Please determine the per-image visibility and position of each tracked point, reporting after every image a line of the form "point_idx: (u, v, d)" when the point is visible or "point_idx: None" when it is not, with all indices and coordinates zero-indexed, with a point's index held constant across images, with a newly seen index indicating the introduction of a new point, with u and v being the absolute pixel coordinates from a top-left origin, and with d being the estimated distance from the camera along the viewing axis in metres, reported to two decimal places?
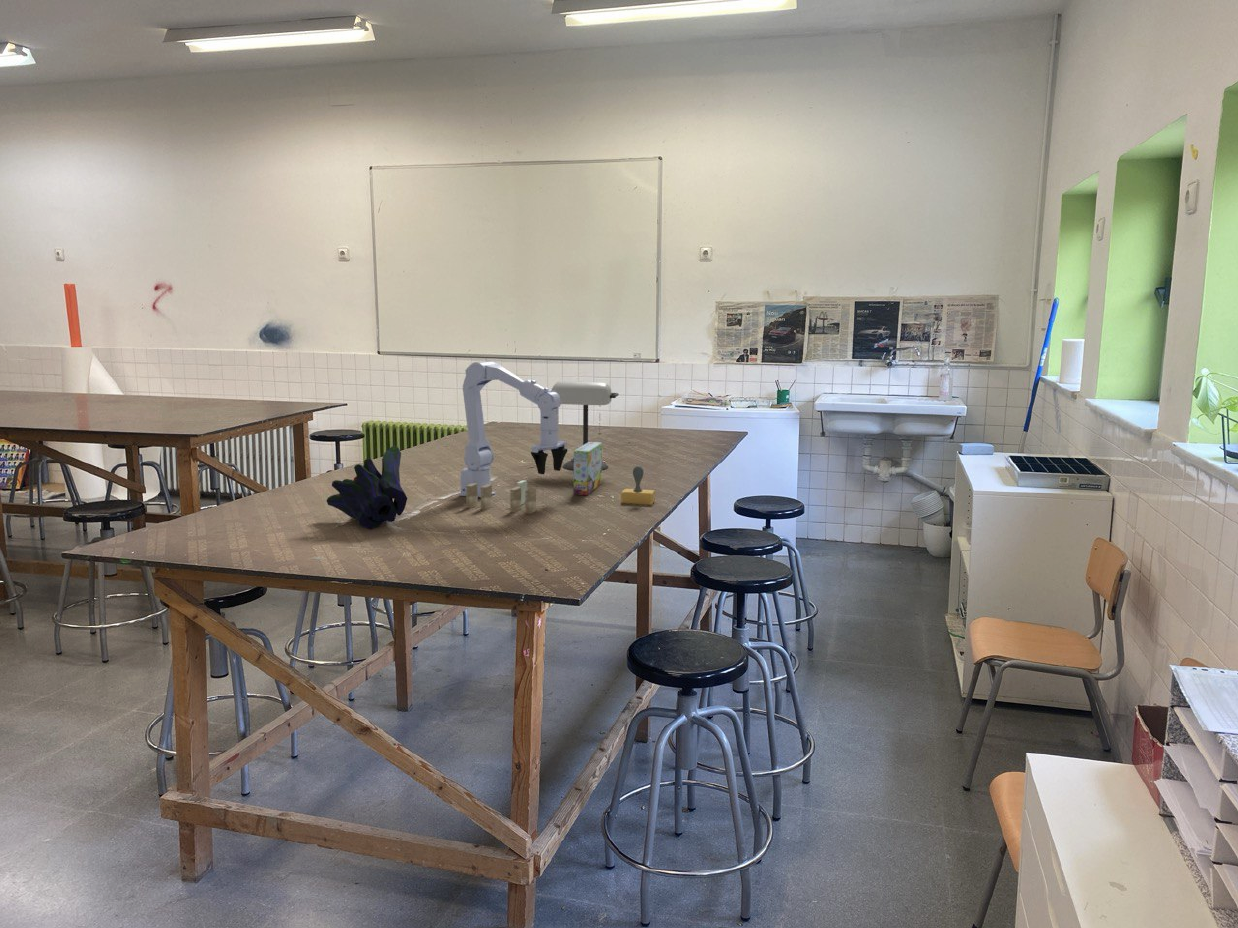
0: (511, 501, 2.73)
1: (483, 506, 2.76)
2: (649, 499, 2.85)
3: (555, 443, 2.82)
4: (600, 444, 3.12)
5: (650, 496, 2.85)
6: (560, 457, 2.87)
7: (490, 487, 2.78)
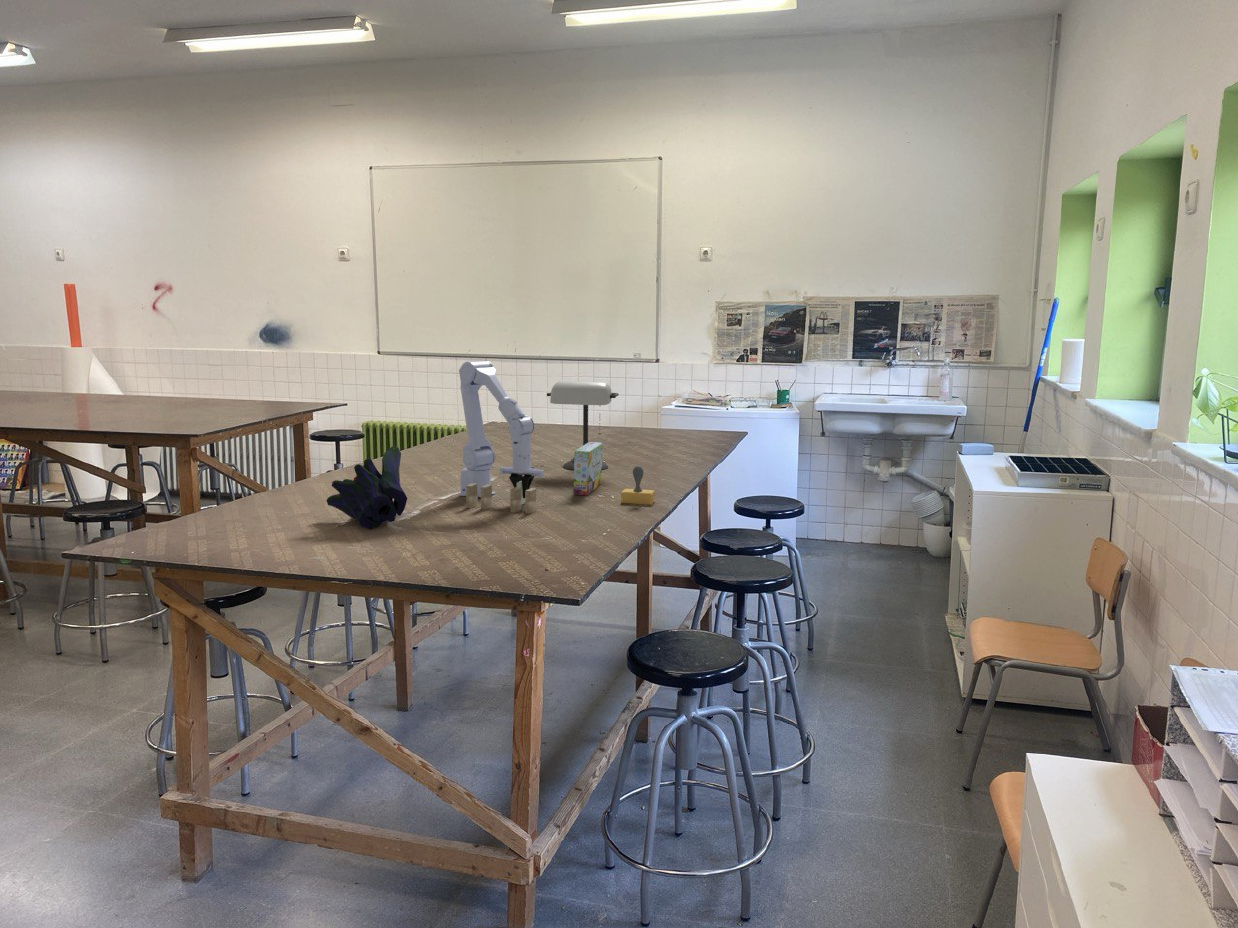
0: (511, 501, 2.73)
1: (483, 506, 2.76)
2: (649, 499, 2.85)
3: (517, 469, 2.81)
4: (601, 444, 3.12)
5: (650, 496, 2.85)
6: None
7: (490, 487, 2.78)
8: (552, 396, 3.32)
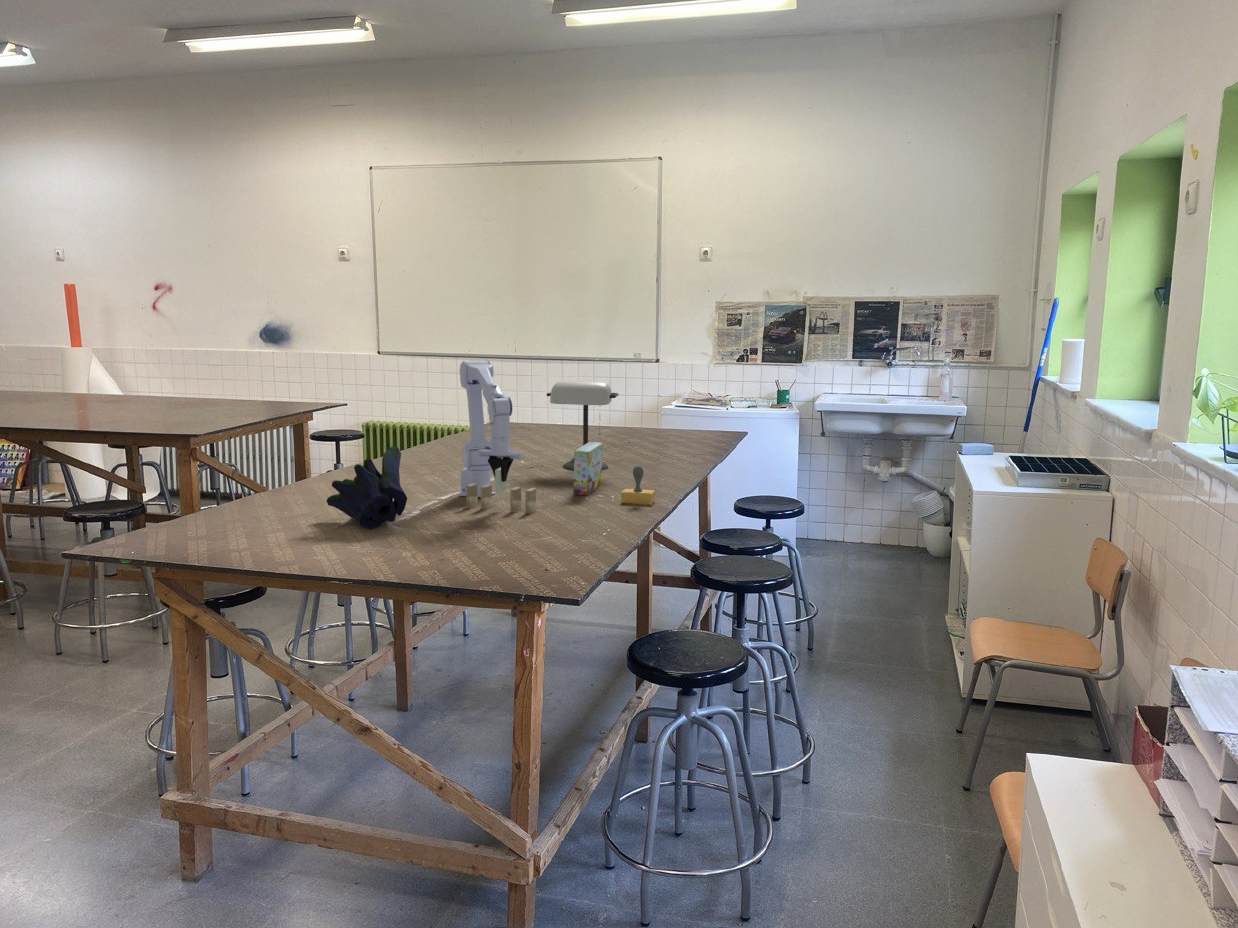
0: (511, 501, 2.73)
1: (483, 506, 2.76)
2: (649, 499, 2.85)
3: (495, 451, 2.71)
4: (601, 444, 3.12)
5: (650, 496, 2.85)
6: None
7: (490, 487, 2.78)
8: (552, 396, 3.32)
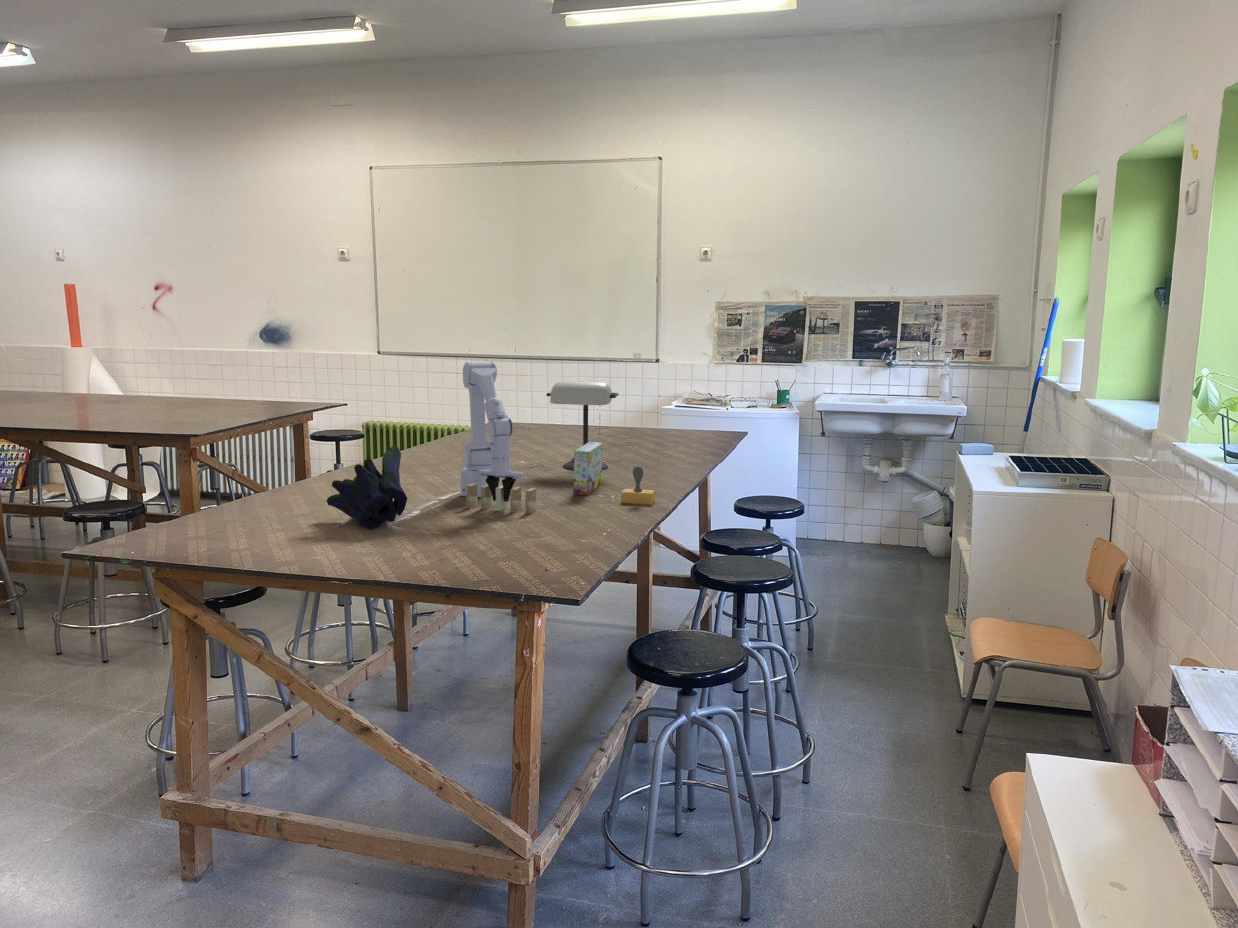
0: (511, 501, 2.73)
1: (483, 506, 2.76)
2: (649, 499, 2.85)
3: (495, 471, 2.72)
4: (601, 444, 3.12)
5: (650, 496, 2.85)
6: None
7: None
8: (552, 396, 3.32)
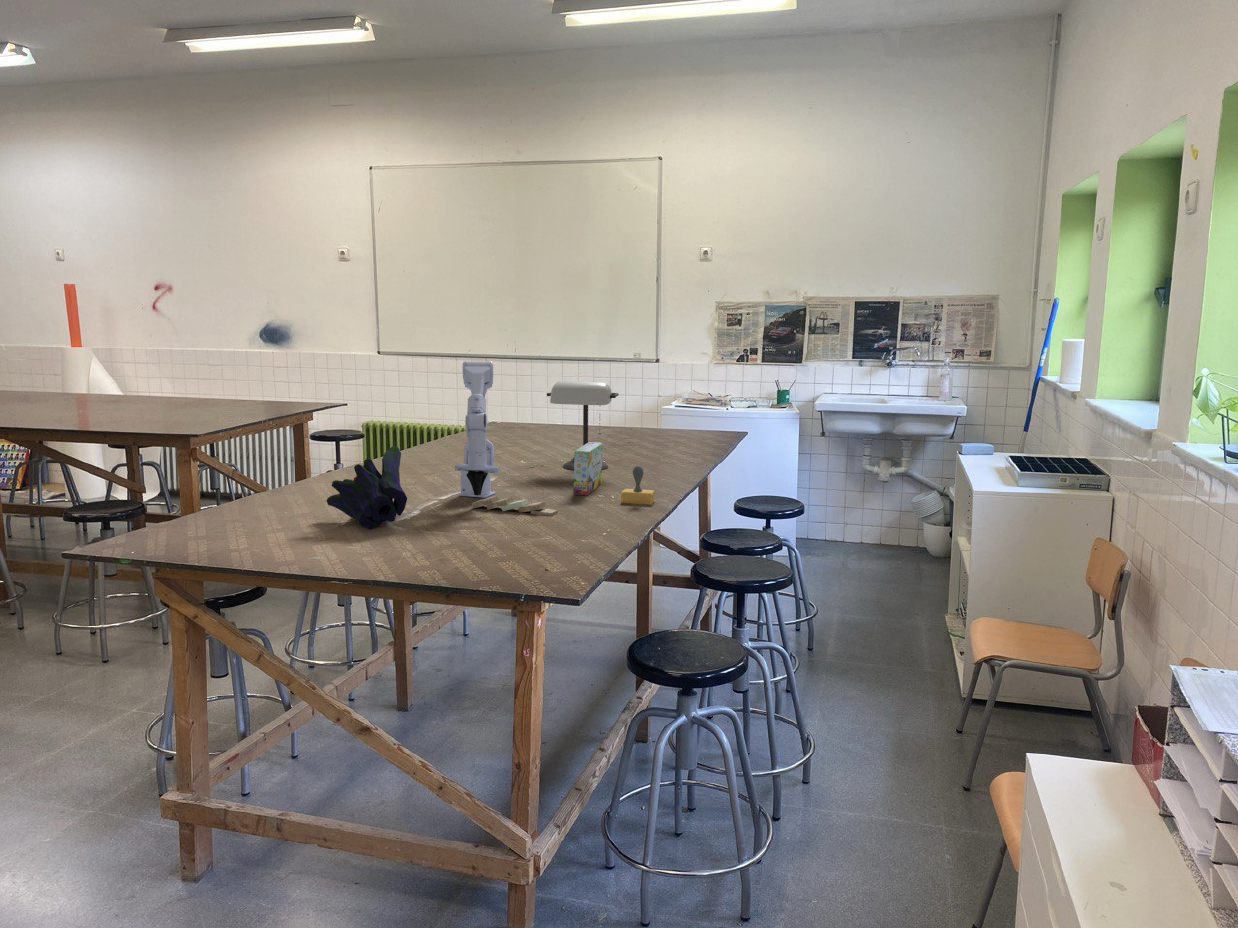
0: (528, 507, 2.71)
1: (489, 507, 2.75)
2: (649, 499, 2.85)
3: (472, 465, 2.74)
4: (601, 444, 3.12)
5: (650, 496, 2.85)
6: None
7: (510, 502, 2.77)
8: (552, 396, 3.32)
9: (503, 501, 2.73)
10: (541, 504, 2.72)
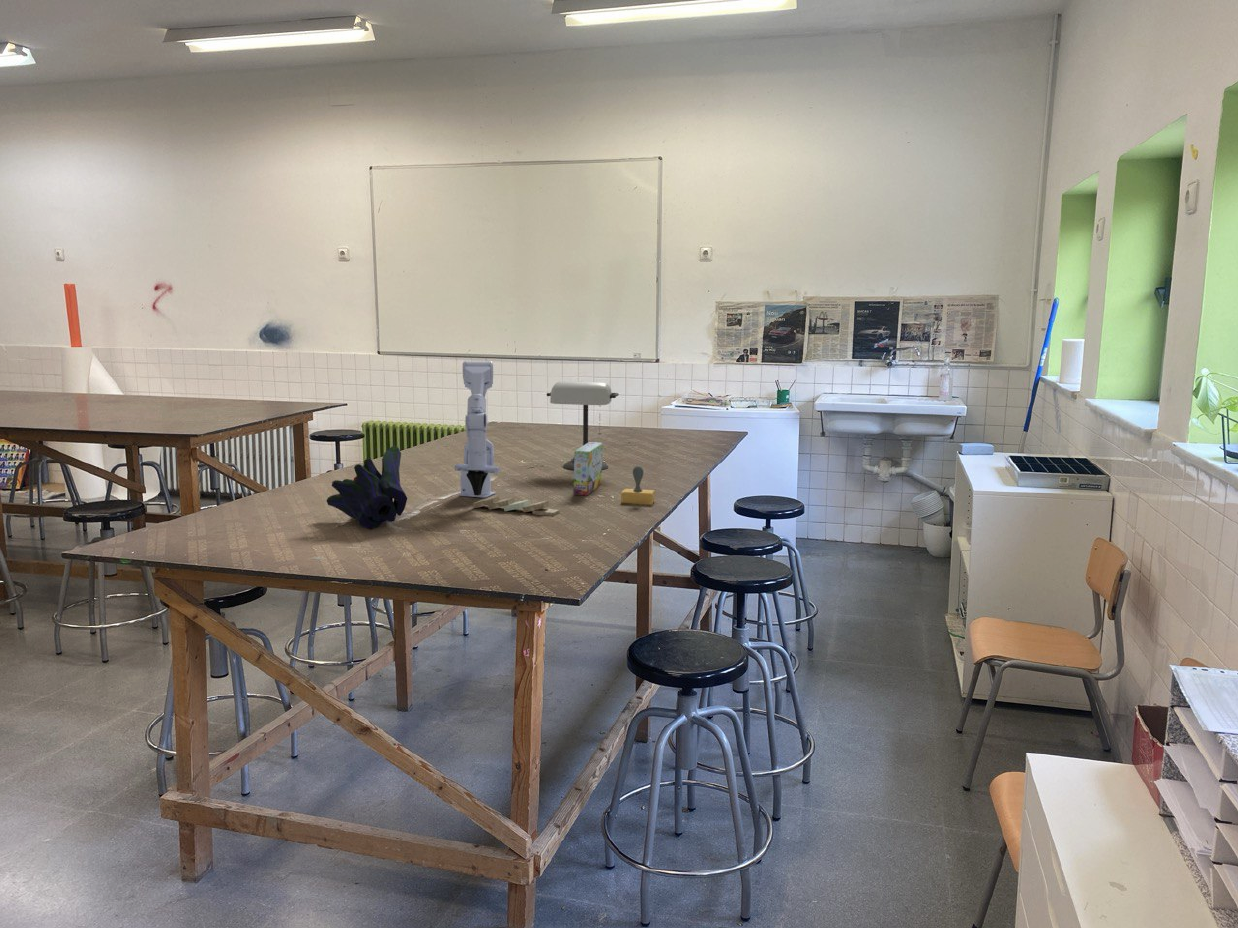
0: (532, 506, 2.71)
1: (490, 507, 2.75)
2: (649, 499, 2.85)
3: (472, 465, 2.74)
4: (601, 444, 3.12)
5: (650, 496, 2.85)
6: None
7: (511, 503, 2.77)
8: (552, 396, 3.32)
9: (505, 501, 2.73)
10: (545, 503, 2.71)
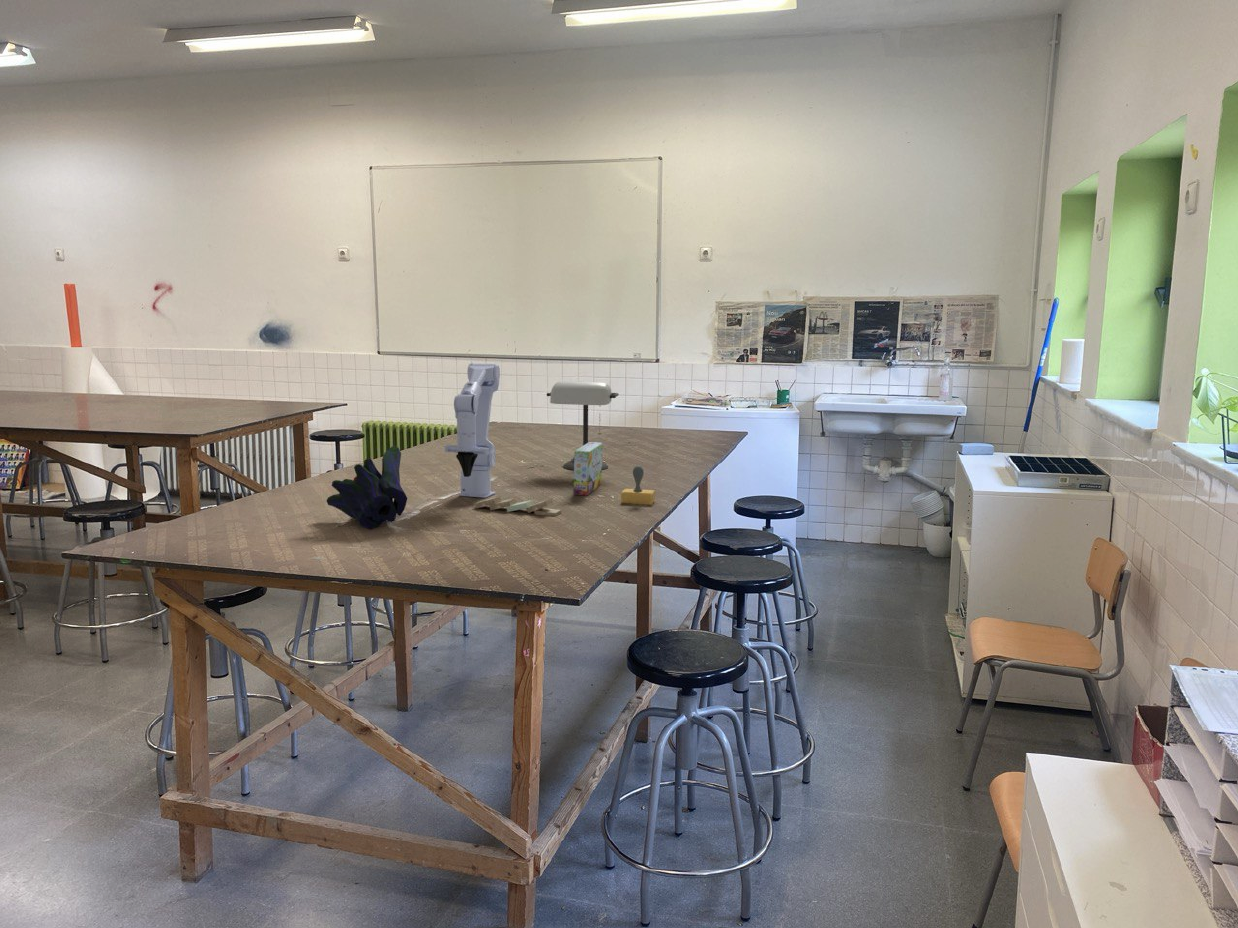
0: (535, 505, 2.70)
1: (492, 507, 2.75)
2: (649, 499, 2.85)
3: (461, 447, 2.75)
4: (601, 444, 3.12)
5: (650, 496, 2.85)
6: None
7: None
8: (552, 396, 3.32)
9: (506, 502, 2.73)
10: (548, 501, 2.71)
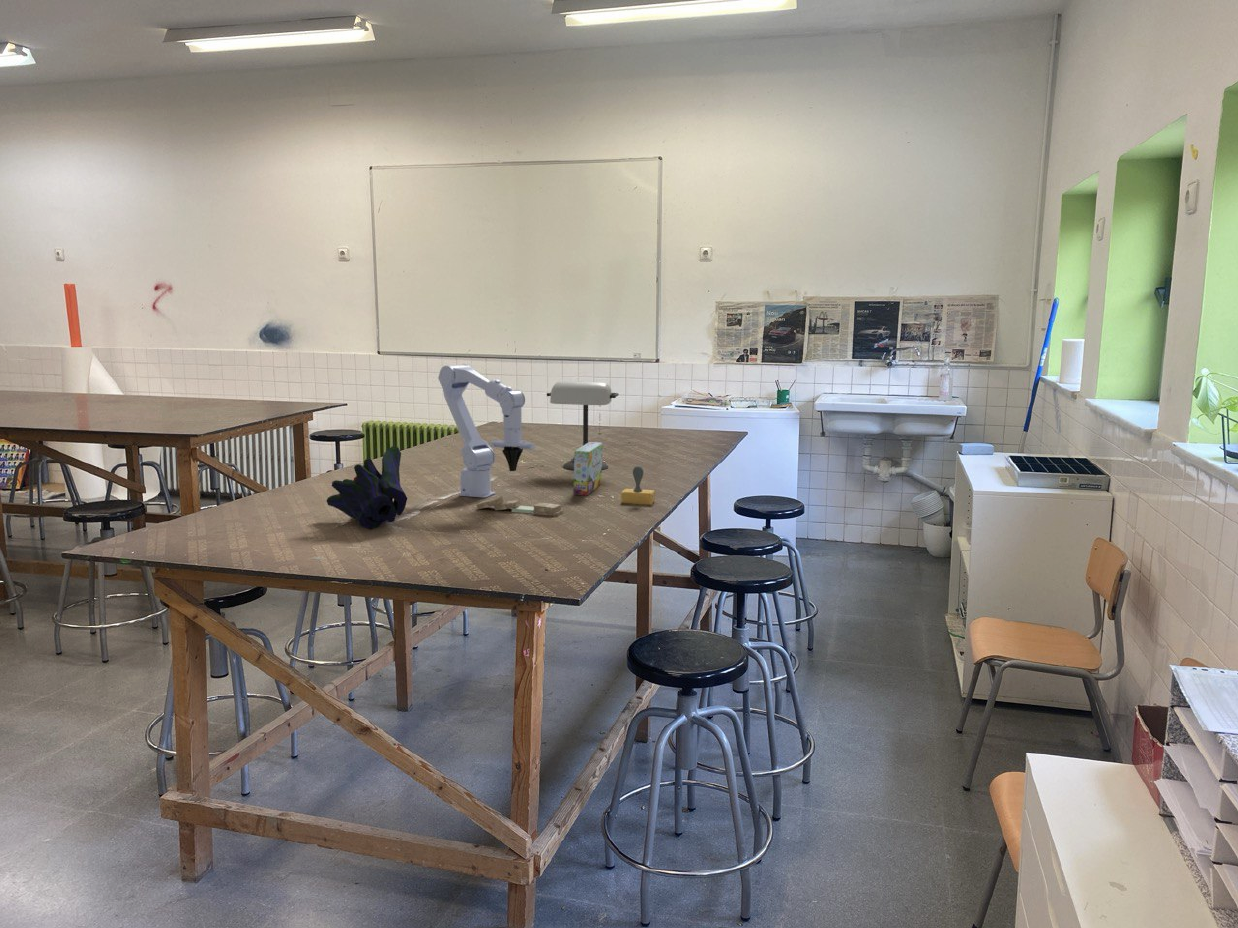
0: (543, 507, 2.69)
1: (497, 508, 2.74)
2: (649, 499, 2.85)
3: (508, 442, 2.82)
4: (601, 444, 3.12)
5: (650, 496, 2.85)
6: None
7: None
8: (552, 396, 3.32)
9: (512, 504, 2.73)
10: (557, 508, 2.70)
